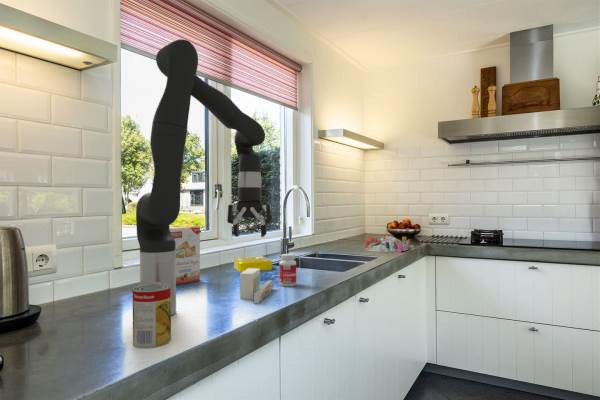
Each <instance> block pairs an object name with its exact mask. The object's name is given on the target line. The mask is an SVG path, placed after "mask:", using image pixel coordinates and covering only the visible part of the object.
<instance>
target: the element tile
mask: <svg viewBox="0 0 600 400" xmlns="http://www.w3.org/2000/svg"><path fill="white" fill-rule="evenodd" d="M233 268H234V269H235V270H236V271H237V272H239V273H242V272H243V271H245V270H246V269H248V268H260V272H262V271H263V272H264V271H265V272H266V271H273V270H272V269H273V261H272V260H271V259H269V258H267V257H266V256H261V255H260V256H250V257H235V258H233Z"/></svg>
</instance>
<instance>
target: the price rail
mask: <svg viewBox="0 0 600 400" xmlns="http://www.w3.org/2000/svg"><path fill="white" fill-rule="evenodd" d="M273 289H274V282H273V280H270V279H268V280H267V281H266V282H264V283H263V284H262V285H260V288H259V289H258V290H257V291H256V292H255V293H254V299H253V304H260V303H262V301H264V299H266V297H267V296H268V295H269V294H270V293H271V292H272V291H273Z"/></svg>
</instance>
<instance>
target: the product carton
mask: <svg viewBox="0 0 600 400" xmlns="http://www.w3.org/2000/svg"><path fill="white" fill-rule="evenodd" d="M239 273H240V274H239V296H240V297H239V299H240V300H254V293H255V292H256V291H257V290H258V289H259V288H260V287H261V271H260V268H248V269H246V270H245V271H243V272H239Z"/></svg>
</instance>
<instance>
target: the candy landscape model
mask: <svg viewBox="0 0 600 400" xmlns="http://www.w3.org/2000/svg"><path fill="white" fill-rule="evenodd" d="M407 238H408V237H407V236H402V237H401V240H400V239H398V238H397V237H395V236H391V235H386V236H385V237H381V238H380V239H378V238H377V237H375V238H374V237H373V236H368V237H367V239H366V241H365V242H364V244H365V245H364V250H365V249H367V250H369V251H377V252H379V251H380V252H382V251H383V252H387V251H395V250H397V251H403V250H404V251H405V250H408V249H409V248H408V247H409V246H410V243H411V239H410V238H409V239H407ZM373 243H375V244H373ZM370 244H373V245H371V247H369V245H370ZM369 251H368V252H369ZM408 251H409V250H408ZM377 252H376V253H377Z"/></svg>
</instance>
